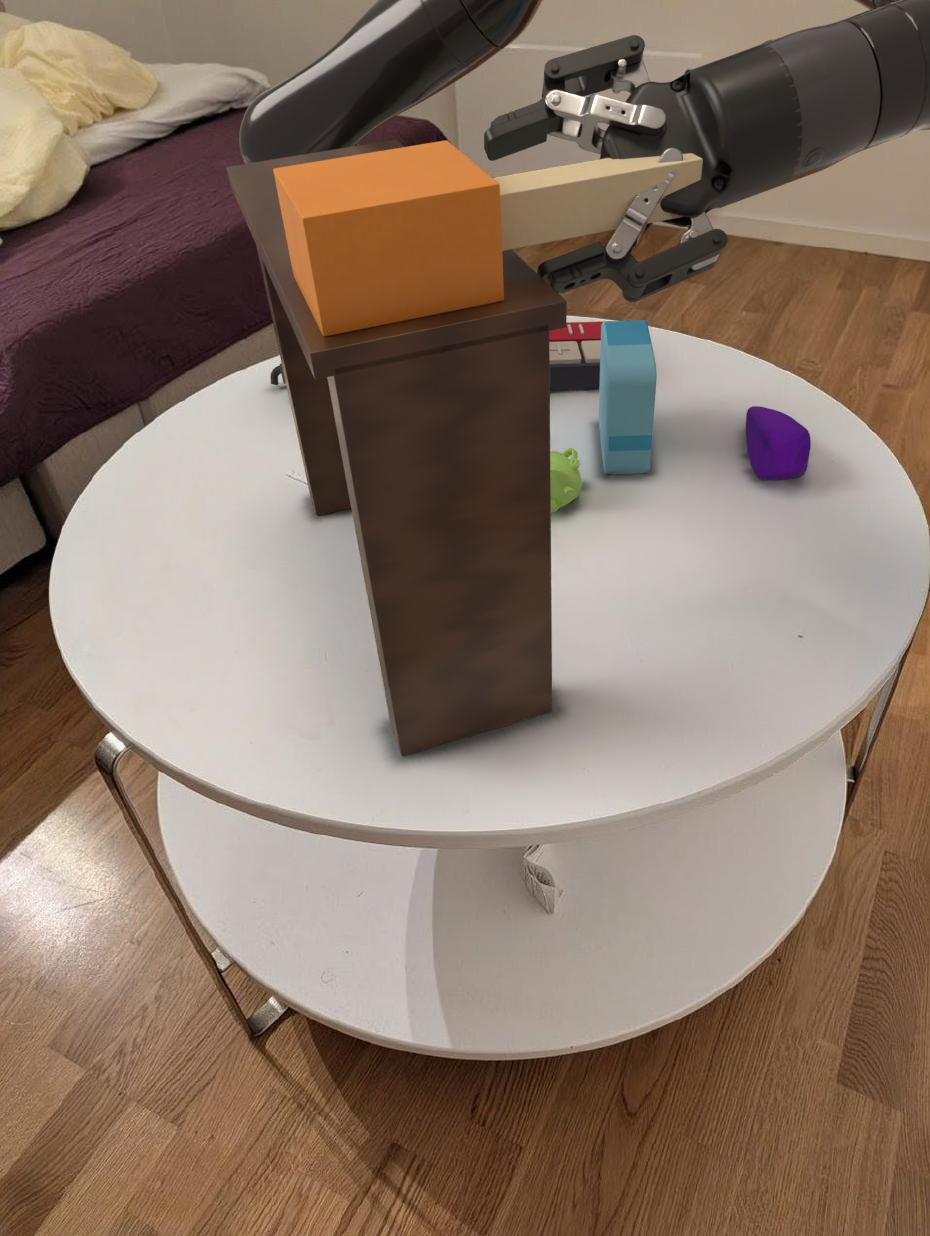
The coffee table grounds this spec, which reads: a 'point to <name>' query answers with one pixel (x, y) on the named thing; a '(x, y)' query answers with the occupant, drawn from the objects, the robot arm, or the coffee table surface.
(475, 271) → the toy hammer
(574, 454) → the whimsical teapot
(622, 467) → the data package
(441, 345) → the shelf
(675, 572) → the coffee table surface
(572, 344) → the calculator
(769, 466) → the crystal
